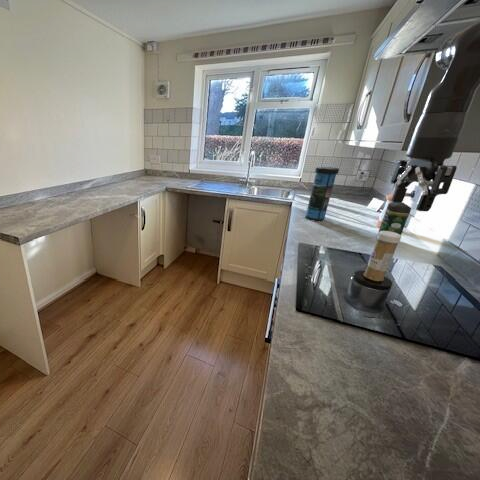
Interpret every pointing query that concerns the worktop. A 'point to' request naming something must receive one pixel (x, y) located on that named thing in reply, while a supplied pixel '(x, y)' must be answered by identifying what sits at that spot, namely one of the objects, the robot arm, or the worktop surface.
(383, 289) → the squat metal tin
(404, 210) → the coffee jar
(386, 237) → the sprinkles bottle
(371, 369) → the worktop surface
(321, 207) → the advertising column
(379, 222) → the pepper shaker
